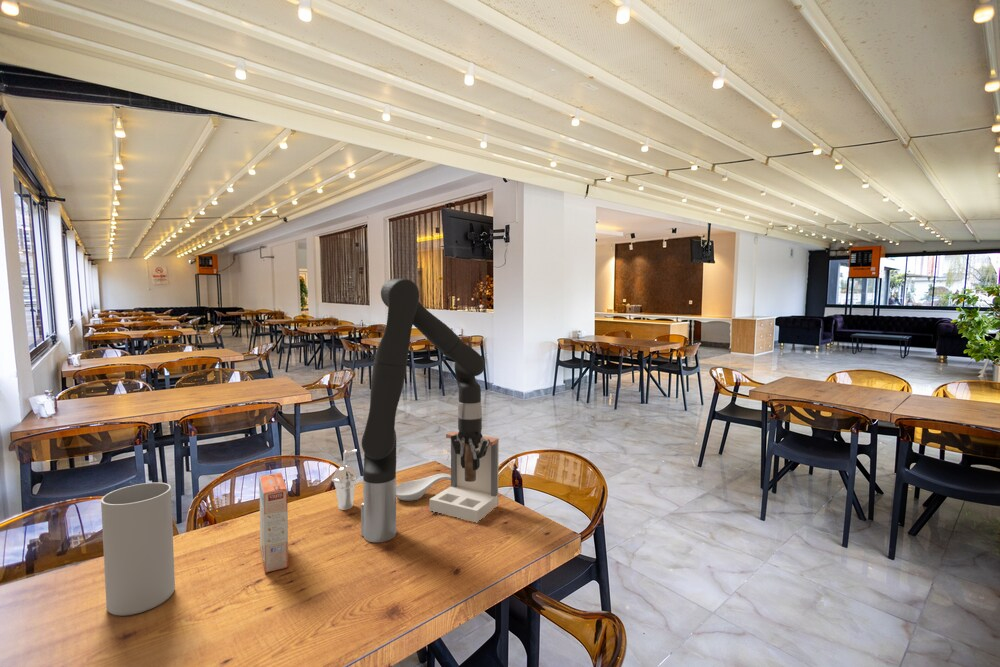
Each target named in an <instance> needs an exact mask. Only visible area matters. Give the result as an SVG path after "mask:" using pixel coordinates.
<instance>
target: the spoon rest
mask: <svg viewBox="0 0 1000 667" xmlns="http://www.w3.org/2000/svg"><path fill="white" fill-rule="evenodd" d="M442 480H448V481H451V474H448V473H443V472H442V473H437V474H433V475H430V476H426V477H422V478H418V479H415V480H409V481H404V482H401V483H399V484H396V498H397V499H399V500H401V501H405V502H414V501H413V500H415V501H418V500H420V499H421V498H422V497H423V496H424V495H425V494H426V493H427V491H429V490H430V488H432V486H433V485H435V484H436V483H437V482H439V481H442ZM419 498H420V499H419ZM417 499H418V500H417Z"/></svg>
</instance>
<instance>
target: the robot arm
mask: <svg viewBox="0 0 1000 667" xmlns="http://www.w3.org/2000/svg"><path fill="white" fill-rule="evenodd" d="M380 297H381V301H382V302H383V304H384V305H385V306H386V307H387V317H386V318H387V319H386V324H385V325H386V326H385V329H384V332H383V335H382V337H381V339H380V341H379V343H378V346H377V349H376V350H375V355H374V358H373V366H372V372H371V380H370V381H371V383H370V399H369V402H370V403H369V410H368V416H367V419H366V425H365V427H364V432H363V435H362V438H361V448H362V450H363V453H364V454H363V456H364V458H363V459H364V460H363V470H362V483H363V484H362V485H363V486H362V488H363V495H362V496H363V502H362V503H361V504H360V531H361V532H360V535H361V536H362V537H363V538H364V540H365V541H367V542H370V543H383V542H388V541H390V540H392V539H394V538H395V537H396V536H397V497H396V486H397V479H396V478H397V433H396V429H395V426H396V424H395V423H396V415H397V409H398V405H399V402H400V398H401V396H402V395H401V394H402V392H403V388H404V384H405V378H406V374H407V367H408V360H409V359H408V358H409V350H410V345H411V338H412V337H411V334H412V329H413V326H414V327H415V328H416V329H417V330H418V331H419V332H420V333H421V334H422V335H423V336H424V337H425V338H426V339H427V340H428V341H429V342H430V343H431V344H432V345H433V346H434V347H435V348H436V349H437V350H438V351H439V352H441V353H442V355H443V356H445V357H446V358H448V359H451V360H452V361H454V373H455V378H456V382H457V387H458V404H457V405H458V406H457V430H458V432H459V433H458V434H455V435H453V436H451V439H450V442H451V441H452V444H453V447H454V450H455V453H456V454H459V455H460V456H461V466H462V468H465V455H464V449H465V443H466V444H470V447H471V452H472V453H473V458H474V459H473V470H475V471H476V470H477V469H478V468H479V467H480V458H482V457H483V456H485V455H486V452H487V449H488V446H489V443H490V440H489V439H487V440H486V439H484V438H483V436H484V435H483V434H482V428H483V424H482V423H483V420H482V419H483V418H482V417H483V410H482V395H481V394H482V390H481V385H480V384H479V383H478V382H477V380H476V377H479V376H480V375H481V374H482V373H483V372H484V370H485V367H486V364H485V360H484V358H483V357H482V356H481V355H480V353H479V352H477V351H476V349H473V347H471V346H470V345H469V344H467V343H466V342H464V341H463V340H462V339H461V338H460V337H459V336H458V335H457V334H456V332H454V331H453V330H452V329H451V328H450V327H449V326H448V325H447V324H446V323H444V322H443V321H442V320H440V319H439V318H438V317H437V316H435V315H434V314H433V313H431V312H430V311H429V310H428V309H426V307H424V306H423V304H421V302H420V291H419V288H418V286H417V284H416V283H415V282H414V281H412V280H410V279H407V278H399V277H398V278H392V279H388V280H387V281H386V282H384V283H383V284H382V286H381V289H380ZM459 439H460V441H461V444H460V441H459ZM480 441H481V445H482V447H481V449H480V445H479V443H480ZM475 447H476V448H475Z"/></svg>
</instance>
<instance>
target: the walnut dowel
mask: <svg viewBox="0 0 1000 667" xmlns="http://www.w3.org/2000/svg"><path fill="white" fill-rule="evenodd" d="M475 448H476V447H475ZM464 455H465V481H467V482H473V481H475V480H476V471H475V470H473V459H474V458H473V453H472V452H471V447H470V444H466V443H465V449H464Z"/></svg>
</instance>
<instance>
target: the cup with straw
mask: <svg viewBox="0 0 1000 667" xmlns="http://www.w3.org/2000/svg"><path fill="white" fill-rule="evenodd" d="M358 452H359V449H348V450H344V451H343V453H342V456H343V465H342V466H339V467H338V468H336V471H335V472H334V474H333V475H332V476H331V481H332V482H333V484H334V487H335V493H336V500H337V505H338V506H337V507H338V509H339V510H342V511H343V510H344V511H346V510H350V509H351V508H352V509H353V507H354V498H355V497H354V496H355V490H356V489H355V487H356V483H357V480H358V479H359V478H360V477H359V474H358V473H357V472H356V470H355V469H354V468H353V467H352V466H349V465H347V463H346V462H347V461H346V454H347V453H358Z"/></svg>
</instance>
